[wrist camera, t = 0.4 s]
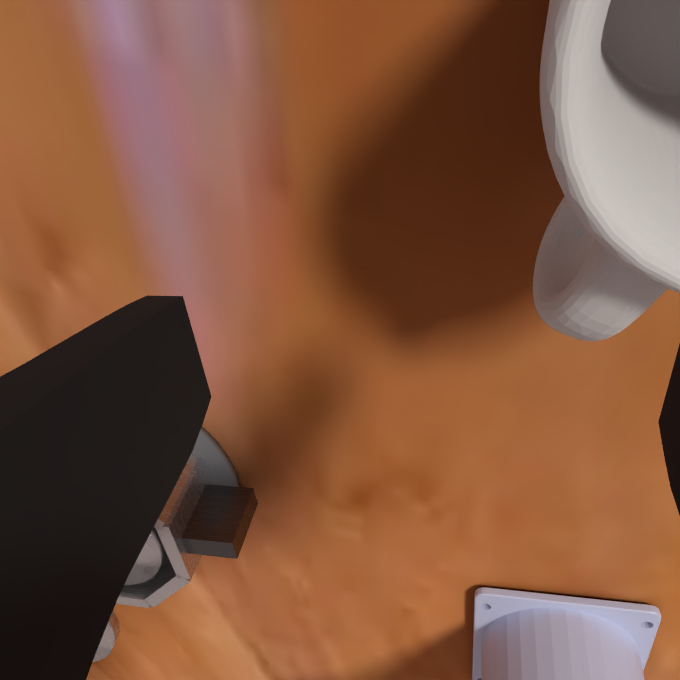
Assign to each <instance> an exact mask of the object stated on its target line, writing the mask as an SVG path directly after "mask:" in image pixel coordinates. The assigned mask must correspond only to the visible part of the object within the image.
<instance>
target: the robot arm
mask: <svg viewBox="0 0 680 680" xmlns="http://www.w3.org/2000/svg"><path fill="white" fill-rule="evenodd" d="M210 399H211V394H210V390H209V387H208V383H207V380H206V376H205V373H204V369H203V366H202V362H201V359H200V355H199V352H198V348H197V345H196V341H195V338H194V334H193V331H192V327H191V324H190V320H189V317H188V313H187V310H186V306H185V303H184V299H183V296H145V297H143V298H141V299H139V300H136V301H134V302H132V303H130V304H128V305H126V306H124V307H122V308H120V309H119V310H117V311H115V312H113V313H111V314H110V315H108V316H106V317H104V318H102V319H101V320H99V321H97V322H95V323H94V324H92V325H90V326H88V327H87V328H85V329H83V330H82V331H80V332H78V333H76V334H75V335H73V336H71V337H70V338H68V339H66V340H64V341H63V342H61V343H59V344H58V345H56V346H54V347H52V348H51V349H49V350H47V351H45V352H44V353H42V354H40V355H39V356H37V357H35V358H33V359H32V360H30V361H28V362H27V363H25V364H23V365H21V366H19V367H18V368H16V369H14V370H12V371H10V372H8V373H6V374H5V375H3V376H1V377H0V680H86V678H87V675H88V672H89V669H90V667H91V664H92V662H93V659H94V657H95V654H96V652H97V649H98V647H99V644H100V641H101V639H102V636H103V634H104V631H105V629H106V626H107V624H108V621H109V619H110V616H111V614H112V611H113V609H114V606H115V604H116V601H117V599H118V597H119V595H120V593H121V591H122V589H123V586H124V584H125V582H126V580H127V578H128V576H129V574H130V572H131V570H132V568H133V566H134V564H135V562H136V560H137V558H138V556H139V554H140V553H141V551H142V549H143V547H144V545H145V543H146V541H147V539H148V537H149V535H150V533H151V531H152V530H153V528H154V526H155V524H156V522H157V520H158V518H159V516H160V514H161V512H162V510H163V508H164V507H165V505H166V503H167V501H168V499H169V497H170V495H171V493H172V491H173V489H174V487H175V485H176V483H177V481H178V479H179V477H180V475H181V473H182V471H183V469H184V467H185V466H186V464H187V461H188V459H189V457H190V455H191V453H192V451H193V449H194V446H195V443H196V441H197V438H198V435H199V432H200V430H201V427H202V424H203V421H204V418H205V415H206V412H207V409H208V405H209V402H210ZM659 427H660V433H661V439H662V445H663V451H664V457H665V462H666V467H667V472H668V477H669V482H670V486H671V490H672V493H673V496H674V499H675V502H676V505H677V508H678V511H679V514H680V345H679V348H678V352H677V356H676V359H675V363H674V367H673V370H672V374H671V378H670V381H669V385H668V389H667V392H666V396H665V400H664V404H663V407H662V411H661V415H660V418H659ZM660 621H661V614H660V610H659V609H658V608H657V607H655V606H653V605H647V604H637V603H628V602H619V601H609V600H600V599H591V598H581V597H572V596H562V595H553V594H544V593H534V592H525V591H516V590H506V589H497V588H487V587H481V588H478V589H477V590H476V591H475V598H474V633H473V668H472V680H645V679H644V674H643V671H644V668H645V665H646V662H647V659H648V656H649V653H650V650H651V647H652V645H653V642H654V639H655V636H656V633H657V630H658V627H659V624H660Z"/></svg>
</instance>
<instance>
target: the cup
mask: <svg viewBox="0 0 680 680" xmlns="http://www.w3.org/2000/svg"><path fill="white" fill-rule="evenodd" d="M540 108H541V118H542V126H543V131H544V136H545V141H546V146H547V151H548V155H549V158H550V161H551V164H552V167H553V170H554V173H555V176H556V179H557V181H558V183H559V185H560V187H561V189H562V191H563V194H564V198H563V199H562V201H561V203H560V204H559V206H558V208H557V209H556V211H555V212H554V214H553V216H552V218H551V220H550V222H549V224H548V226H547V228H546V231H545V233H544V236H543V238H542V241H541V244H540V247H539V250H538V254H537V258H536V262H535V269H534V276H533V298H534V303H535V308H536V310H537V312H538V314H539V316H540V318H541V319H542V320H543V321H544V322H545V323H547V324H548V325H549V326H550V327H551V328H553V329H555V330H557V331H558V332H560V333H562V334H565V335H568V336H571V337H573V338H576V339H579V340H585V341H599V340H604V339H606V338H609V337H611V336H613V335H615V334H617V333H619V332H621V331H622V330H623V329H625V328H626V327H628V326H629V325H630V324H631V323H632V322H633V321H634V320H636V319H637V318H638V317H639V316H640V315H641V314H643V313H644V312H645V311H646V310H647V309H648V308H649V307H650V305H651V304H652V303H653V302H654V301H655V300H656V299H658V298H659V297H660V296H661V295H662V294H663V293H664V292H665V291H666V290H667V289H671V290H673V291H676V292H679V293H680V0H550V2H549V8H548V15H547V21H546V27H545V34H544V40H543V47H542V55H541V66H540Z"/></svg>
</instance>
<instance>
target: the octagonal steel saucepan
mask: <svg viewBox="0 0 680 680" xmlns="http://www.w3.org/2000/svg"><path fill="white" fill-rule="evenodd" d="M199 455H200V453H199V452H198V451H196V450H195V449H193V451H192V453H191V455H190V457H189V459H188V461H187V464H186V466H185V467H184V469H183V471H182V473H181V475H180V477H179V479H178V481H177V483H176V485H175V487H174V489H173V491H172V493H171V495H170V497H169V499H168V501H167V503H166V505H165V507H164V508H163V510H162V512H161V514H160V516H159V518H158V520H157V522H156V524H155V526H154V527H155V528H156V530H157V533H158V535H159V537H160V539H161V542H162V544H163V546H164V548H165V551H166V554H165V557H164V560H163V562H162V564H161V566H160V568H159V570H158V572H157V573H156V575H154V576H153V577H152V578H151V579H149V580H148V581H145V582H143V583H139V584H135V585H124V586H123V589H122V591H121V593H120V595H119V597H118V599H117V601H116V604H123V605H131V606H139V607H147V608H150V607H151V606H152V607H155V606H157V605H158V604H159V603H161V602H162V601H164V600H165V599H166V598H168V597H169V596H171V595H172V594H173V593H175V592H176V591H178V590H179V589H181V588H182V587H183V586H185V585H186V584H188V583H189V582H190V580H191V578H192V576H193V573H194V571H195V569H196V566H197V564H198V562H199V559H200V557H201V555H208V556H217V557H227V558H236V559H237V558H238V555H239V553H240V550H241V547H242V545H243V542H244V539H245V537H246V534H247V531H248V528H249V526H250V523H251V520H252V518H253V515H254V512H255V510H256V507H257V504H258V503H257V499H256V496H255V492H254V488H244V487H231V486H219V485H213V483H212V480H211V477H210V474H209V471H208V468H207V465H206V463H205V460H204V457H199Z"/></svg>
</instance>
